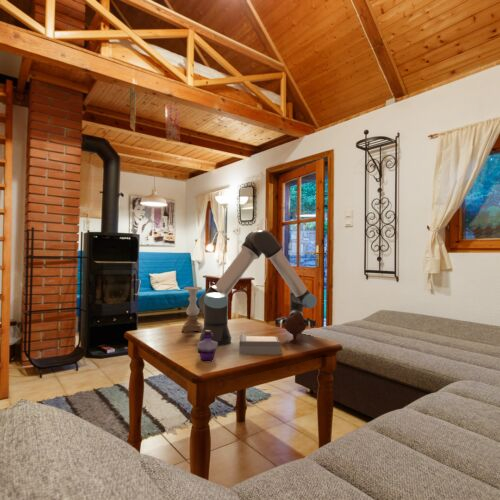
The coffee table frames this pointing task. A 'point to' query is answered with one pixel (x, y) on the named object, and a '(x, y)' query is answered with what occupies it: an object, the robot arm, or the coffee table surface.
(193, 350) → the coffee table surface
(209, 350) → the potion bottle
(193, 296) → the candle holder
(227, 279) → the robot arm
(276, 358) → the coffee table surface
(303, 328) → the ice cream bowl
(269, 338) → the step dock
